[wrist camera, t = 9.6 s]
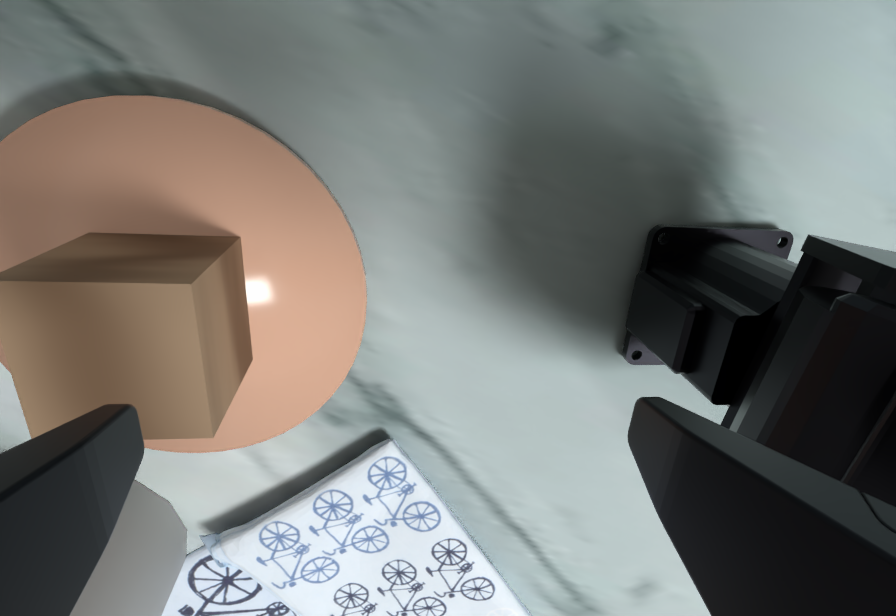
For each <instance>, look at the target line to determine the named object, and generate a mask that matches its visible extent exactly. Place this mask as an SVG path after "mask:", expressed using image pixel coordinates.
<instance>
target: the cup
mask: <svg viewBox="0 0 896 616" xmlns="http://www.w3.org/2000/svg"><path fill="white" fill-rule="evenodd" d="M186 548H187V529H186V527H185V526H184V524H183V523H182V521H181V519H180V518H179V516H178V515H177V513H176V511H175V510H174V508H173V507H172V505H171V504H170V502H168V501H167V500H165V499H164V498H162V497H161V496H159V495H158V494H156V493H155V492H153V491H151V490H150V489H148V488H147V487H145V486H144V485H142V484H141V483H139V482H138V481H136V480H134V481H133V484H132V486H131V489H130V491H129V494H128V496H127V499H126V501H125V504H124V506H123V509H122V511H121V514H120V516H119V519H118V521H117V524H116V526H115V528H114V531H113V533H112V535H111V538H110V540H109V542H108V544H107V546H106V548H105V550H104V552H103V554H102V556H101V558H100V560H99V562H98V564H97V565H96V567H95V569H94V571H93V573H92V575H91V577H90V579H89V580H88V582H87V584H86V586H85V588H84V590H83V592H82V594H81V595H80V597H79V599H78V601H77V603H76V605H75V607H74V609H73V610H72V612H71V614H70V616H161V615H162V613H163V611H164V608H165V606H166V604H167V601H168V599H169V597H170V594H171V592H172V590H173V587H174V585H175V583H176V580H177V578H178V576H179V573H180V571H181V569H182V566H183V564H184V562H185V558H186Z"/></svg>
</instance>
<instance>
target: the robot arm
mask: <svg viewBox="0 0 896 616" xmlns="http://www.w3.org/2000/svg"><path fill="white" fill-rule="evenodd" d="M662 233H665V237H664V239H663V240H662V241H661V242H658V238H659V236H660V235H661V234H662ZM780 238H781V241H780V243H779V244H778V245H777V241H778V240H779V239H780ZM792 244H793V235H792V234H791V233H790V232H787V231H784V230H781V229H765V228H739V227H712V226H685V225H657V226H655V227H654V228H653V229H652V230H651V231H650V233H649V235H648V239H647V243H646V248H645V252H644V257H643V261H642V266H641V270H640V273H639V274H638V275H637V276H636V280H635V285H634V289H633V294H632V299H631V303H630V308H629V312H628V317H627V321H626V327H627V333H626V338H625V342H624V347H623V352H622V355H623V357H624V358H625V360H626V361H627V362H628V363H630V364H633V365H666V366H667V367H668V368H669V369H670V370H671V371H672V372H674V373H676V374H681V375H682V376H683V377H684V378H685V379H687V380H688V381H689V382H690V383H691V384H692V385H693V386H694V387H695V388H696V389H697V390H699V391H700V392H701V393H702V394H703V395H704V396H705V397H706V398H707V399H708V400H709V401H710V402H712V403H713V404H715V405H727V406H728V407H729V408H728V410H727V412H726V415H725V417H724V419H723V421H722V423H721V425H719V424H717V423H714V422H712V421H710V420H708V419H706V418H704V417H702V416H699V415H697V414H695V413H693V412H691V411H689V410H687V409H684V408H682V407H680V406H678V405H676V404H674V403H672V402H669V401H667V400H665V399H663V398H661V397H641V398H639V399H638V400H637V401H636V403H635V406H634V410H633V414H632V418H631V422H630V426H629V430H628V443H629V446H630V449H631V451H632V454H633V456H634V459H635V461H636V463H637V466H638V468H639V471H640V473H641V476H642V478H643V481H644V483H645V485H646V488H647V490H648V493H649V495H650V498H651V500H652V503H653V505H654V507H655V509H656V512H657V514H658V516H659V518H660V520H661V522H662V524H663V526H664V528H665V530H666V532H667V534H668V536H669V537H670V539H671V541H672V543H673V545H674V547H675V549H676V551H677V552H678V554H679V556H680V558H681V560H682V562H683V564H684V566H685V567H686V569H687V571H688V573H689V575H690V577H691V579H692V580H693V582H694V584H695V586H696V588H697V590H698V592H699V594H700V595H701V597H702V599H703V601H704V603H705V605H706V607H707V609H708V610H709V612H710V614H711V616H896V252H892V251H888V250H883V249H878V248H873V247H868V246H863V245H858V244H853V243H848V242H843V241H838V240H833V239H829V238H824V237H819V236H814V235H808V236H807V238H806V240H805V242H804V244H803V246H802V249H801V251H803V252H804V253H803V255H802V257H801V259H800V261H799V263H798V264H796V263H794V262H791V261H789V260H787V258H788V255H789V252H790V250H791V247H792ZM637 350H638V352H637V354H635V355H634V356H631V355H632V353H633V352H634V351H637ZM143 455H144V441H143V436H142V431H141V426H140V421H139V416H138V412H137V409H136V408H135V406H133V405H132V404H106V405H103V406H101V407H99V408H96V409H94V410H92V411H90V412H88V413H86V414H84V415H82V416H79V417H77V418H75V419H73V420H71V421H69V422H67V423H65V424H62V425H60V426H58V427H56V428H54V429H52V430H50V431H48V432H45V433H43V434H41V435H39V436H37V437H35V438H33V439H31V440H28V441H26V442H24V443H22V444H20V445H18V446H16V447H14V448H11V449H9V450H7V451H5V452H3V453H1V454H0V616H70V614H71V612H72V610H73V609H74V607H75V605H76V603H77V601H78V599H79V597H80V595H81V594H82V592H83V590H84V588H85V586H86V584H87V582H88V580H89V579H90V577H91V575H92V573H93V571H94V569H95V567H96V565H97V564H98V562H99V560H100V558H101V556H102V554H103V552H104V550H105V548H106V546H107V544H108V542H109V540H110V538H111V535H112V533H113V531H114V528H115V526H116V524H117V521H118V519H119V516H120V514H121V511H122V509H123V506H124V504H125V501H126V499H127V496H128V494H129V491H130V489H131V486H132V484H133V481H134V479H135V476H136V474H137V471H138V469H139V466H140V464H141V461H142V458H143Z"/></svg>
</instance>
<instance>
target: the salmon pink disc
mask: <svg viewBox="0 0 896 616" xmlns="http://www.w3.org/2000/svg"><path fill="white" fill-rule="evenodd" d="M89 232H92V233H127V234H162V235H196V236H231V237H241V246H242V255H243V265H244V275H245V285H246V295H247V305H248V315H249V325H250V335H251V345H252V355H253V361H252V362H251V364H250V366H249V368H248V370H247V372H246V374H245V376H244V378H243V380H242V382H241V384H240V386H239V388H238V390H237V392H236V394H235V396H234V398H233V400H232V402H231V404H230V406H229V408H228V410H227V412H226V414H225V416H224V418H223V420H222V422H221V424H220V426H219V428H218V430H217V432H216V434H215V436H214V438H200V439H157V440H143V441H144V448H149V449H153V450H162V451H170V452H182V453H205V452H218V451H226V450H232V449H237V448H243V447H246V446H250V445H253V444H256V443H260V442H263V441H266V440H268V439H271V438H273V437H275V436H278V435H280V434H282V433H284V432H286V431H288V430H290V429H291V428H293V427H295V426H296V425H298V424H300V423H302V422H303V421H304V420H305V419H307V418H308V417H309V416H311V415H312V414H313V413H315V412H316V411H317V410H318V409H319V408H320V407H321V406H322V405H323V404H324V403H325V402H326V401H327V400H328V399H329V398H330V397H331V396H332V395H333V394H334V393H335V391H336V390H337V389H338V387H339V386H340V385H341V383H342V382H343V381H344V379H345V377H346V375H347V374H348V372H349V370H350V368H351V366H352V365H353V363H354V360H355V357H356V355H357V352H358V350H359V347H360V344H361V340H362V335H363V331H364V326H365V318H366V304H367V286H366V273H365V269H364V264H363V259H362V254H361V251H360V248H359V245H358V242H357V239H356V237H355V234H354V231H353V229H352V227H351V225H350V223H349V221H348V219H347V217H346V215H345V213H344V211H343V209H342V207H341V206H340V205H339V203H338V202H337V200H336V199H335V197H334V196H333V194H332V193H331V191H330V190H329V188H328V187H327V186H326V185H325V184H324V182H323V181H322V180H321V179H320V178H319V177H318V176H317V174H316V173H315V172H314V171H313V170H312V169H311V168H310V167H309V166H308V165H307V164H306V163H305V162H304V161H303V160H302V159H300V158H299V157H298V156H297V155H296V154H295V153H294V152H293V151H292V150H290V149H289V148H288V147H286V146H285V145H284V144H282V143H281V142H279V141H278V140H277V139H275V138H274V137H272V136H271V135H269V134H268V133H267V132H265V131H263V130H261V129H259V128H258V127H256V126H254V125H252V124H250V123H248V122H246V121H245V120H243V119H241V118H239V117H236V116H234V115H231V114H228V113H226V112H223V111H221V110H218V109H216V108H213V107H210V106H206V105H202V104H198V103H195V102H191V101H187V100H182V99H175V98H167V97H159V96H107V97H99V98H92V99H85V100H81V101H77V102H74V103H70V104H67V105H64V106H60V107H57V108H54V109H52V110H50V111H48V112H45V113H43V114H41V115H39V116H37V117H35V118H33V119H31V120H29V121H27V122H26V123H25V124H23V125H22V126H20V127H19V128H17V129H16V130H15V131H13V132H12V133H10V134H9V135H7V136H6V137H5V138H4V139H3V140H2V141H1V142H0V272H2V271H4V270H7V269H9V268H11V267H13V266H16V265H18V264H20V263H22V262H24V261H27V260H29V259H31V258H33V257H36V256H38V255H40V254H42V253H45V252H47V251H49V250H51V249H53V248H56V247H58V246H60V245H62V244H65V243H67V242H69V241H71V240H73V239H76V238H78V237H80V236H82V235H85V234H87V233H89ZM0 362H1V363H2V364H3V365H4V366H5V367H6V369H7V370H8V371H9V372H10V369H9V365H8V362H7V359H6V356H5V353H4V350H3V346H2V343H1V340H0ZM10 373H11V372H10Z"/></svg>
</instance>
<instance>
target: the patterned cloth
mask: <svg viewBox="0 0 896 616" xmlns="http://www.w3.org/2000/svg"><path fill="white" fill-rule="evenodd" d="M199 536H200V538H201V540H202V541H203V543H204V546H203V547H201V548H199V549H197V550H195V551H194V552H192V553H190V554H188V555H186V558H185V562H184V564H183V566H182V569H181V571H180V573H179V576H178V578H177V580H176V583H175V585H174V587H173V590H172V592H171V594H170V597H169V599H168V601H167V604H166V606H165V608H164V611H163V613H162V615H161V616H297V615H298V616H532V615H531V614H530V612H529V611H528V609H527V608H526V607H525V606H524V605H523V604H522V602H521V601H520V599H519V598H518V597H517V595H516V594H515V593H514V592H513V590H512V589H511V588H510V586H509V585H508V584H507V582H506V581H505V580H504V579H503V577H502V576H501V575H500V574H499V573H498V572H497V570H496V569H495V567H494V566H493V565H492V564H491V562H490V561H489V560H488V559H487V557H486V556H485V555H484V553H483V552H482V551H481V550H480V548H479V547H478V546H477V544H476V543H475V542H474V540H473V539H472V538H471V537H470V535H469V534H468V533H467V531H466V530H465V529H464V527H463V526H462V525H461V523H460V522H459V521H458V519H457V518H456V517H455V515H454V514H453V513H452V511H451V510H450V509H449V507H448V506H447V505H446V504H445V502H444V501H443V500H442V498H441V497H440V496H439V494H438V493H437V492H436V491H435V489H434V488H433V487H432V485H431V484H430V483H429V482H428V480H427V479H426V478H425V477H424V475H423V474H422V473H421V472H420V470H419V469H418V468H417V467H416V466H415V464H414V463H413V462H412V461H411V460H410V459H409V458H408V457H407V456H406V454H405V453H404V452H403V450H402V449H401V448H400V447H399V445H398V444H397V442H396V441H395V440H394V439H393V440H391V439H387V440H385V441H382V442H380V443H378V444H376V445H374V446H372V447H371V448H369V449H368V450H367V451H365V452H364V453H363V454H361V455H360V456H358V457H357V458H355V459H354V460H352V461H351V462H349V463H347V464H346V465H344V466H342V467H341V468H339V469H338V470H336V471H334V472H333V473H331V474H329V475H328V476H326V477H325V478H323V479H322V480H320V481H318V482H317V483H315V484H314V485H312V486H310V487H309V488H307V489H305V490H304V491H302V492H300V493H299V494H297V495H295V496H294V497H292V498H290V499H289V500H287V501H285V502H284V503H282V504H281V505H279V506H277V507H275V508H273V509H272V510H270V511H268V512H266V513H264V514H262V515H261V516H259V517H257V518H255V519H253V520H251V521H249V522H247V523H245V524H243V525H242V526H238V527H234V528H231V529H228V530H226V531H223V532H222V533H221V534H217V533H214V534H209V535H206V536H201V535H199Z"/></svg>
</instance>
